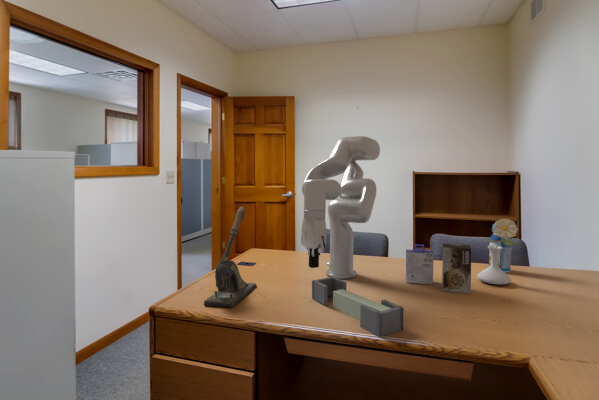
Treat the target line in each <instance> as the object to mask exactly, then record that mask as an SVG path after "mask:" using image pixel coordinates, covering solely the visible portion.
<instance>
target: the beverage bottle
mask: <svg viewBox="0 0 599 400" xmlns="http://www.w3.org/2000/svg"><path fill="white" fill-rule="evenodd" d="M494 224H495V223H493V224H492V227H491V231H492V234H491V235H490V237H489V239H491V240H493V241H496V242H497V243H498V244H499V243H500V242H501V240H502V239H503V237H499V236H496V235H495V234H496V233H494V230H493V227H494ZM508 239H510V240H512V241H513V239H512V237H511V238H510V237H509V238H508ZM503 240H504V239H503ZM489 241H490V240H489ZM497 243H495V242H492V241H490V242H489V244H488V246H497V245H498V244H497ZM498 246H499V247H502V249H501V251H500V252H499V255H498V266H499V268H500V269H501V270H502V271H503V272H505V273H506V274H508V273H510V272H511V270H512V269H511V262H512V261H511V260H512V250H513V246H512V245H505V244H504V243H503V241H502V242H501V243H500V244H499V245H498ZM488 252H489V256H488V257H489V259H488V267H489V266H490V264H491V253H490V251H488Z"/></svg>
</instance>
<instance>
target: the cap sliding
mask: <svg viewBox="0 0 599 400" xmlns="http://www.w3.org/2000/svg"><path fill="white" fill-rule="evenodd" d="M340 289H344V290H347V282H346V281H345V280H342V279H339V278H336V277H330V276H328V277H323V278H319V279H313V280H311V298H312V300H315V301H316V302H318V303H320V304H321V305H323V306H326V305H328V297H331V296H333V291H337V290H340Z"/></svg>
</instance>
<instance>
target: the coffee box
mask: <svg viewBox="0 0 599 400" xmlns="http://www.w3.org/2000/svg"><path fill="white" fill-rule="evenodd" d="M441 274H442V275H441V277H442V278H441V279H442V280H441V289H442V291H443V292H451V293H462V294H463V293H464V294H471V293H472V292H471V289H472V288H471V287H472V281H471V280H472V247H471V246H470V245H469V244H462V243H461V244H460V243H459V244H457V243H455V244H454V243H442V272H441Z"/></svg>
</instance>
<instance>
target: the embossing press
mask: <svg viewBox="0 0 599 400" xmlns="http://www.w3.org/2000/svg"><path fill="white" fill-rule="evenodd" d="M235 213H236V214H235V216H234V217H235V218H234V221H233V223H232V226H231V228H230V232H229V233H230V234H229V235H230V237H229V240H228V241H227V242H228V243H227V244H226V247H225V250H224V253H223V254H222V257H221V259H220V260H219V262H218V264H217V265H216V268H215V271H214V274H215V275H214V277H215V287H216V288H217V290H214V293H213V294H211V296H209V297H208V298H206V299H205V300H204V302H203V305H204V306H212V307H224V308H225V307H231V308H232V307H234V306H236V305H237V304H238V303H239V302H240V301H241V300H242V299H244V298H245V297H246V296H247V295H249V294H250V293H251V292H252V291H253V290H254V289H255V288H256V287H257V283H255V282H246V281H245V280H244V279H243V278H242V276H241V274H240V270H239V267H238V265H237V263H236V262H235V261H233V260H232V259H228V258H229V254H230V251H231V248H232V245H233V242H234V240H235V238H236V237H237V235H238V233H239V230H240V228H241V227H240V226H241V225H242V223H243V220H244V218H245V216H246V208H245V207H244V206H243V205H242V206H240V207H239V208H238V209H237V211H236V212H235Z"/></svg>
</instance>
